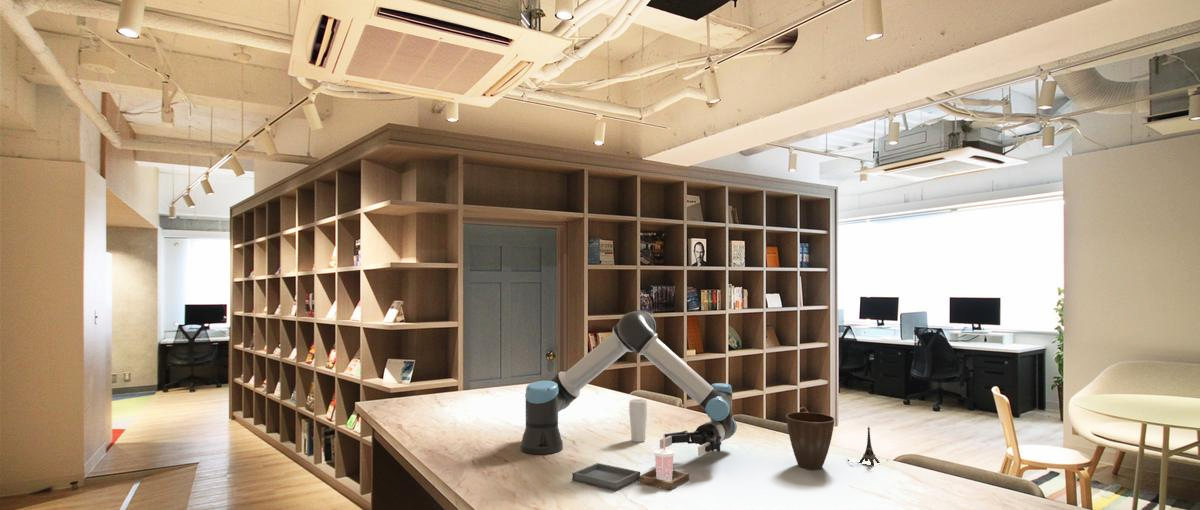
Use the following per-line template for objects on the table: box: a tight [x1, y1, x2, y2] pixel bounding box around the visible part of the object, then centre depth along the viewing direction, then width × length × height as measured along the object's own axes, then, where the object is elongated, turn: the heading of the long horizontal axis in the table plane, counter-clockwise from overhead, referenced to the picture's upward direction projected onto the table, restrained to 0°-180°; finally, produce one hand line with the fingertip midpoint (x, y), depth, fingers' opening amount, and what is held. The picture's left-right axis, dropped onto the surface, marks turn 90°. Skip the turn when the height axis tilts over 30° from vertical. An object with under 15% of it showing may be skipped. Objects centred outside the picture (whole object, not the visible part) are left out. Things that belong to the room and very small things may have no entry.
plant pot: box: [785, 411, 835, 471], centre depth 202 cm, size 15×15×16 cm
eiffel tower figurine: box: [858, 426, 889, 467], centre depth 206 cm, size 15×10×13 cm
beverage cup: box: [653, 434, 675, 482], centre depth 187 cm, size 6×6×14 cm
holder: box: [638, 467, 690, 491], centre depth 186 cm, size 11×11×2 cm
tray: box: [571, 462, 641, 492], centre depth 188 cm, size 16×13×2 cm
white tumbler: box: [628, 398, 648, 443], centre depth 235 cm, size 7×7×15 cm
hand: (679, 447), depth 194 cm, fingers open, 13 cm apart
